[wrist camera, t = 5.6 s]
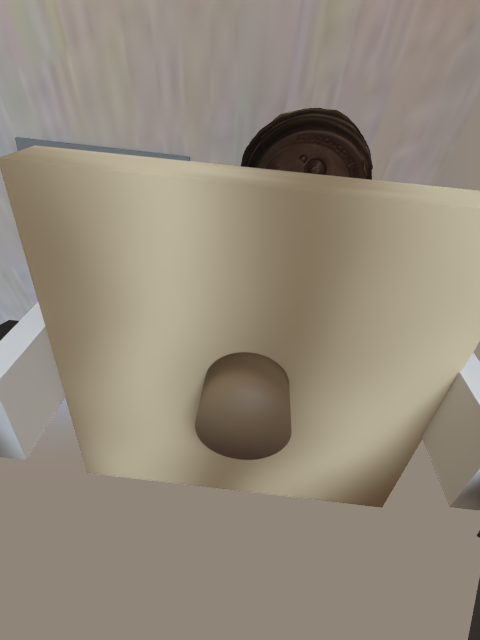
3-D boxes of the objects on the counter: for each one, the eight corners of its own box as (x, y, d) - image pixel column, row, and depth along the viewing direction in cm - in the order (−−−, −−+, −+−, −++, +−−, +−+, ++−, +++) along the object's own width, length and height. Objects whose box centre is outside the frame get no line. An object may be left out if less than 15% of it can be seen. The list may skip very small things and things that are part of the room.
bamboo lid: (101, 441, 15) (67, 516, 12) (34, 145, 8) (-63, 180, 6) (373, 472, 15) (393, 555, 12) (515, 194, 8) (614, 250, 6)
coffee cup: (346, 194, 34) (377, 253, 24) (258, 209, 36) (249, 271, 25) (342, 84, 29) (379, 97, 19) (240, 107, 31) (221, 131, 20)
